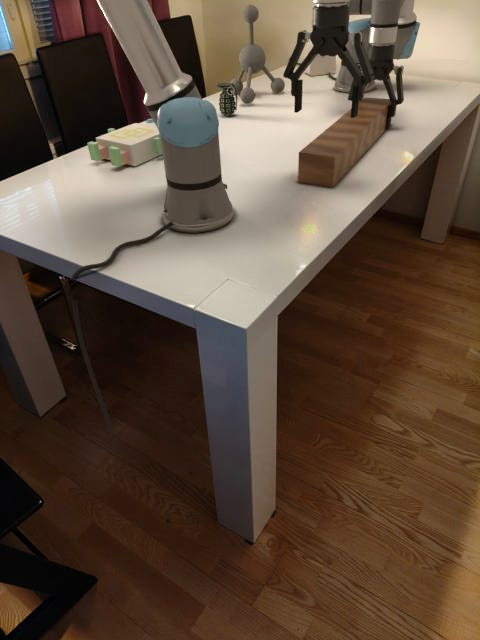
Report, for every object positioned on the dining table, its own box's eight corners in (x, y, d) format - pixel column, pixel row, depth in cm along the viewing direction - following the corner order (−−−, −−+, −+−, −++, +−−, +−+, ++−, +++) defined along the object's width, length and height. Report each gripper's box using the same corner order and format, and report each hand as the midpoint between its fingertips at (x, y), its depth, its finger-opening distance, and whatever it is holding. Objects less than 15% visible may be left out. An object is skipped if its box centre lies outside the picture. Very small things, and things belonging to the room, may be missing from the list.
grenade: (217, 117, 168) (214, 86, 162) (221, 112, 172) (219, 82, 166) (235, 117, 166) (233, 86, 160) (239, 113, 171) (238, 82, 165)
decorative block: (141, 114, 152) (190, 122, 142) (145, 135, 156) (192, 145, 146) (76, 138, 136) (126, 149, 126) (82, 160, 140) (130, 173, 130)
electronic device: (309, 76, 211) (312, -7, 192) (303, 73, 216) (305, -8, 198) (336, 73, 213) (341, -10, 194) (329, 70, 219) (333, -11, 200)
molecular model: (298, 98, 182) (300, 3, 164) (243, 107, 176) (239, 9, 158) (272, 86, 199) (271, -1, 181) (221, 93, 194) (215, 4, 175)
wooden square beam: (332, 187, 117) (334, 156, 112) (297, 182, 120) (298, 152, 116) (390, 124, 153) (393, 99, 148) (362, 122, 156) (365, 97, 152)
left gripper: (397, 2, 97) (383, 113, 110) (283, 2, 107) (282, 104, 120) (387, 6, 92) (374, 123, 105) (268, 6, 102) (269, 113, 115)
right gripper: (424, 42, 135) (410, 126, 149) (348, 40, 144) (342, 119, 158) (418, 47, 130) (404, 133, 144) (340, 44, 139) (334, 126, 153)
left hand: (325, 113), depth 112 cm, fingers open, 13 cm apart
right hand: (372, 126), depth 151 cm, fingers closed on wooden square beam, 9 cm apart
